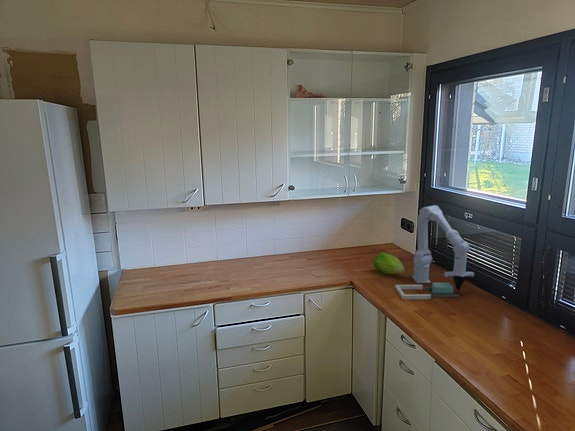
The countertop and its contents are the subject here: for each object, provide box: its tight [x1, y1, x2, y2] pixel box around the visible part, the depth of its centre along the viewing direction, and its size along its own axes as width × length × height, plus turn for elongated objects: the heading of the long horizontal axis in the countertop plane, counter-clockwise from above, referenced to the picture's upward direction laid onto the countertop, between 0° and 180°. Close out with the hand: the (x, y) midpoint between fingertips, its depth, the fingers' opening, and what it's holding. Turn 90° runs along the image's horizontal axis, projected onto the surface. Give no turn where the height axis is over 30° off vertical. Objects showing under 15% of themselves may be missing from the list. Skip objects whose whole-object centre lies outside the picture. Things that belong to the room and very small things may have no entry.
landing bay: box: [394, 284, 432, 300], centre depth 202 cm, size 14×14×2 cm
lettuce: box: [373, 252, 406, 275], centre depth 228 cm, size 14×20×12 cm
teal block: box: [431, 282, 454, 294], centre depth 201 cm, size 6×9×5 cm, turn 85°
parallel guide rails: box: [423, 286, 460, 298], centre depth 201 cm, size 9×15×2 cm, turn 89°
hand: (457, 289), depth 201 cm, fingers closed
